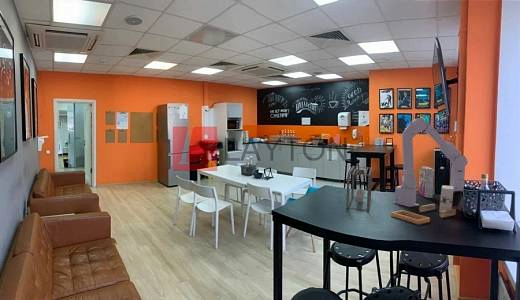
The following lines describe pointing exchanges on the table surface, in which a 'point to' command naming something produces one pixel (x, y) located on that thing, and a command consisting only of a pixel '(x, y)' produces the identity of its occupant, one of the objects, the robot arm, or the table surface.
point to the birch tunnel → (442, 213)
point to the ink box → (446, 198)
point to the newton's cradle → (360, 192)
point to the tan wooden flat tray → (410, 217)
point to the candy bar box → (426, 182)
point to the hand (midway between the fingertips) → (455, 206)
